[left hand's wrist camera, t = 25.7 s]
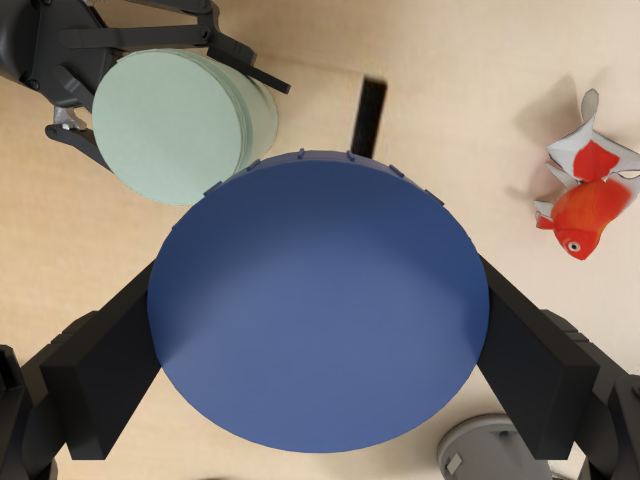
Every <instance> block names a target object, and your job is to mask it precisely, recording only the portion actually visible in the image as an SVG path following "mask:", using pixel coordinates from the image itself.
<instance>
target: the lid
mask: <svg viewBox="0 0 640 480" xmlns="http://www.w3.org/2000/svg"><path fill="white" fill-rule="evenodd" d="M203 195H204V196H205V197H204V198H202V199H201V200H200V201H199V202H197V203H196V204H195V205H194V206H192V207H191V208H190V209H189V210H188V212H187V213H186V214H185V215H184V216H183V217H182V218H181V219H180V220H179V221H178V222H177V223H176V224H175V225H174V226H173V227H172V231H171V232H170V234H169V235H168V236H167V238H166V239H165V241H164V243H163V245H162V247H161V249H160V251H159V253H158V255H157V257H156V259H155V262H154V265H153V269H152V272H151V276H150V279H149V285H148V293H147V313H148V318H149V323H150V328H151V333H152V338H153V343H154V348H155V352H156V356H157V358H158V360H159V362H160V364H161V366H162V368H163V370H164V372H165V374H166V375H167V377H168V378H169V380H170V381H171V382H172V384H173V385H174V387H175V388H176V389H177V391H178V392H179V393H180V394H181V395H182V396H183V397H184V398H185V399H186V401H187V402H188V403H189V404H190V405H192V406H193V407H194V408H195V409H196V410H197V411H198V412H200V413H201V414H202V415H203V416H205V417H206V418H208V419H209V420H210V421H212V422H213V423H215V424H216V425H218V426H219V427H221V428H223V429H225V430H227V431H229V432H230V433H232V434H234V435H237V436H239V437H241V438H244V439H246V440H248V441H251V442H254V443H257V444H260V445H264V446H267V447H271V448H276V449H281V450H285V451H293V452H302V453H334V452H345V451H350V450H356V449H362V448H366V447H369V446H373V445H376V444H380V443H383V442H385V441H388V440H390V439H393V438H396V437H398V436H400V435H402V434H404V433H406V432H408V431H410V430H412V429H414V428H416V427H417V426H419V425H420V424H422V423H423V422H425V421H426V420H428V419H429V418H431V417H432V416H433V415H434V414H436V413H437V412H438V411H439V410H440V409H442V408H443V407H444V406H445V405H446V404H447V403H448V402H449V401H450V400H451V399H452V398H453V397H454V396H455V395H456V394H457V392H458V391H459V390H460V388H461V387H462V386H463V384H464V383H465V382H466V380H467V379H468V378H469V376H470V374H471V372H472V370H473V369H474V367H475V365H476V363H477V361H478V359H479V356H480V354H481V351H482V348H483V346H484V343H485V338H486V334H487V330H488V325H489V310H490V302H489V291H488V284H487V280H486V276H485V272H484V268H483V265H482V262H481V260H480V258H479V255H478V253H477V251H476V248H475V246H474V245H473V243H472V241H471V239H470V237H468V235H467V233H466V232H465V230H464V229H463V227H462V226H461V225H460V224H459V223H458V222H457V220H456V219H455V218H454V217H453V216H452V215H451V213H450V212H449V211H448V210H447V209H445V208H444V207H443V205H444V203H443V202H442V201H441V200H439V199H438V198H437V197H436V196H434V195H433V194H432V193H430V192H429V191H428V190H426V189H425V190H423V189H422V188H420V187H419V186H418V185H417V184H415V183H414V182H413V181H411V180H410V179H409V178H407V177H405V175H404V174H403V173H402V172H400V171H399V170H398V169H397V168H395V167H394V166H393V165H391V164H390V166H389V167H388V166H386V165H384V164H381V163H379V162H377V161H375V160H372V159H368V158H365V157H362V156H358V155H355V154H352V153H351V151H349V150H347V152H346V153H343V152H336V151H314V150H310V151H304V148H302V149H300V151H299V152H292V153H286V154H283V155H279V156H275V157H271V158H267V159H265V160H262V161H260V159H257V160H255V161H254V162H253V163H252V164H251V165H249V166H248V167H246V168H244V169H243V170H241V171H239V172H237V173H236V174H234V175H232V176H231V177H229V178H228V179H227V180H225V181H224V182H223V183H222V181H219V182H218V183H216V184H215V185H214V186H212V187H211V188H210V189H208V190H207V191H206V192H204V193H203Z"/></svg>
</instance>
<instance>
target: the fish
mask: <svg viewBox="0 0 640 480" xmlns="http://www.w3.org/2000/svg"><path fill="white" fill-rule="evenodd" d="M598 97H599V94H598V93H597V92H596V90H594V89H593V88H592V89H591V90H589V91H588V92H586V94H585V96H584V98H583V101H582V104H581V112H582V117H583V121H584V124H583V125H582V126H581V127H580V128H578V129H577V130H576V131H574V132H573V133H571V134H569V135H567V136H566V137H564V138H562V139H560V140H558V141H556V142H555V143H553V144H551V145H549V146H547V147H546V149H547V151H548V153H549V155H550V158H551V159H552V160H553V161H554V162H556V163H557V164H558V165H559V166H560V167H561V168H562V169H564V170H565V171H566V172H567V173H566V172H564V171H562V170H559V169H557V168H556V167H554V166H552V165H550V164H548V163H546V165H547V166H548V168H549V169H550V170H551V171H552V173H553V174H554V175H555V176H556V177H557V178H558V179H559V180H560V181H561V182H562V183H563V184H564V185H565V186H566V188H567V190H568V191H567V192H566V193H564V194H563V195H562V196H561V197H560V198H559V199H558V200H557V201H556V202H555V203H554V205H553V204H552V203H551V202H544V201H534V205H535V206H536V207H537V209H538V210H539V211H540V212H541V213H542V214H541V213H540V212H538V211H537V212H536V221H537V225H536V227H537V228H540V229H547V230H553V231H554V233H555V236H556V238H557V239H558V241H559V243H560V244H561V246H562V247H563V248H564V249H565V251H566V252H567V253H568V254H570V255H571V256H573V257H575V258H577V259H579V260H585V259H586V258H587V257H588V256H589V255H590V254H591V253H592V252H593V250H594V249H595V248H596V246H597V245H598V243H599V240H600V236H601V234H602V232H603V230H604V228H605V227H606V225H607V224H608V223H609V222H611V221H612V220H614V219H615V218H616V217H618V216H619V215H620V214H621V213H622V212H624V211H625V210H626V209H627V208H628V207H629V206H630V205H631V204H632V202H633V201H634V200H635V199H636V198H637V196H638V194H639V191H640V175H639V176H637V177H635V178H631V179H627V178H625V177H623V176H621V175H620V174H618V172H620V171H640V154H638V153H636V152H634V151H632V150H630V149H628V148H626V147H624V146H622V145H620V144H618V143H615V142H613V141H611V140H610V139H608V138H606V137H604V136H602V135H600V134H598V133H597V132H595V131H594V130H593V129H592V128H593V122H594V117H595V114H596V112H597V106H598ZM608 176H609V177H608ZM606 177H608V179H607V181H606V183H605V182H604V181H603V179H605V178H606ZM577 181H579V182H580V183H581V184H580V185H578V182H577Z"/></svg>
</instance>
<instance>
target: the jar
mask: <svg viewBox="0 0 640 480" xmlns="http://www.w3.org/2000/svg"><path fill="white" fill-rule="evenodd" d="M117 62H118V63H117V64H116V65H115V66H114V67H112V68H111V69H110V70H109V71H108V73H107V74H106V75H105V76H104V78H103V79H102V81H101V82H100V84H99V86H98V89H97V91H96V93H95V97H94V101H93V108H92V125H93V131H94V136H95V139H96V143H97V145H98V148H99V150H100V153H101V154H102V156H103V158H104V160H105V162H106V163H107V165H108V166H109V167H110V169H111V170H112V171H113V173H114V174H115V175H116V176H117V177H118V178H119V179H120V180H121V181H122V182H123V183H124V184H125V185H126V186H128V187H129V188H131V189H132V190H133V191H135V192H136V193H138V194H140V195H142V196H144V197H146V198H148V199H150V200H153V201H156V202H159V203H164V204H170V205H180V206H181V205H189V204H196V203H197V202H199V201H200V200H201V199H202V198H204V197H205V196H204V195H203V193H204V192H206V191H207V190H208V189H210V188H211V187H212V186H214V185H215V184H216V183H218V182H219V181H222V183H223V182H224V181H225V180H227V179H228V178H229V177H231V176H232V175H234V174H236V173H237V172H239V171H241V170H243V169H244V168H246V167H248V166H249V165H251V164H252V163H253V162H254V161H255V160H257V159H260V158H261V157H262V156H263V155H264V154H265V153H266V152H267V151H268V150H269V148H270V147H271V145H272V144H273V142H274V140H275V137H276V134H277V129H278V113H277V108H276V105H275V102H274V100H273V98H272V96H271V94H270V92H269V91H268V89H267V88H266V87H265V86H264V85H263V84H262V83H261V82H260V81H258V80H256V79H254V78H252V77H250V76H248V75H246V74H244V73H242V72H240V71H238V70H235V69H233V68H231V67H229V66H227V65H224V64H222V63H219V62H216V61H213V60H211V59H208V58H205V57H203V56H200V55H197V54H195V53H192V52H189V51H184V50H180V49H170V48H169V49H151V50H144V51H137V52H136V51H135V52H133V53H131V54H129V55H127V56H125V57H123V58H121V59H119V60H117Z"/></svg>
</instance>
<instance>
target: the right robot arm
mask: <svg viewBox="0 0 640 480" xmlns="http://www.w3.org/2000/svg"><path fill="white" fill-rule="evenodd" d="M96 1H103V2H109V1H110V0H0V76H2V77H5V78H7V79H9V80H11V81H14V82H16V83H18V84H20V85H23V86H25V87H27V88H30V89H32V90H35V91H37V92H39V93H41V94H42V95H43V96H45V97H46V98H47V99H48V100H49V101H50V103H52V104H53V105H54V124H52V125H47V126H46V128H45V133H46V135H47V136H48V137H49V138H50V139H52V140H56V141H59V142H62V143H65V144H68V145H71V146H74V147H75V148H77V149H78V150H80V151H81V152H83V153H84V154H86V155H87V156H89V157H90V158H92V159H93V160H95V161H96V162H98V163H99V164H100V165H102V166H103V167H105V168H106V169H108V170H109V171H111V172H112V173H113V171H112V170H111V169H110V167H109V166H108V165H107V163H106V162H105V160H104V158H103V156H102V154H101V153H100V150H99V148H98V145H97V143H96V139H95V136H94V131H93V130H91V129H88V128H86V127H87V124H86V123H85V122H84V121H82V120H81V119H79V118H78V117H77V116H76V115H75V113H74V108H78V107H83V106H84V107H85V108H86V109H87V110H88V111H89V112H90V113H91V114H92V108H93V101H94V97H95V93H96V91H97V89H98V86H99V84H100V82H101V81H102V79H103V78H104V76H105V75H106V74H107V73H108V71H109V70H110V69H111V68H112V67H114V66H115V65H116V64H117V63H118V62H117V60H119V59H121V58H123V53H126V52H135V51H136V52H137V51H144V50H151V49H169V48H170V49H185V48H205V47H209V49H208V52H207V56H209V57H211V58H213V59H215V60H217V61H219V62H221V63H223V64H225V65H227V66H229V67H231V68H233V69H235V70H238V71H240V72H242V73H244V74H246V75H248V76H250V77H252V78H254V79H256V80H258V81H260V82H262V83H264V84H266V85H268V86H270V87H272V88H274V89H276V90H278V91H280V92H282V93H284V94H288V92H289V90H290V87H291V85H289V84H287V83H285V82H283V81H281V80H279V79H277V78H275V77H273V76H271V75H269V74H267V73H265V72H263V71H261V70H259V69H257V68H255V67H253V65H254V62H255V60H256V57H257V54H256V53H255V52H254V51H253V50H252V49H251V48H250V47H248V46H246V45H244V44H242V43H240V42H238V41H236V40H234V39H232V38H230V37H228V36H226V35H224V34H222V33H221V31H220V30H219V26H218V17H219V14H220V12H219V8H218V6H217V5H216V4H215V3H214V2H213V1H212V0H125V1H129V2H133V3H137V4H142V5H146V6H151V7H155V8H160V9H164V10H169V11H173V12H178V13H182V14H186V15H191V16H195V17H197V21H198V25H181V26H162V27H143V28H124V29H120V28H108V27H107V25H106V24H105V22H104V21H103V19H102V18H101V16H100V15H99V13H98V12H97V10H96V9H95V8H94V6H93V5H94V3H95V2H96Z"/></svg>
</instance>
